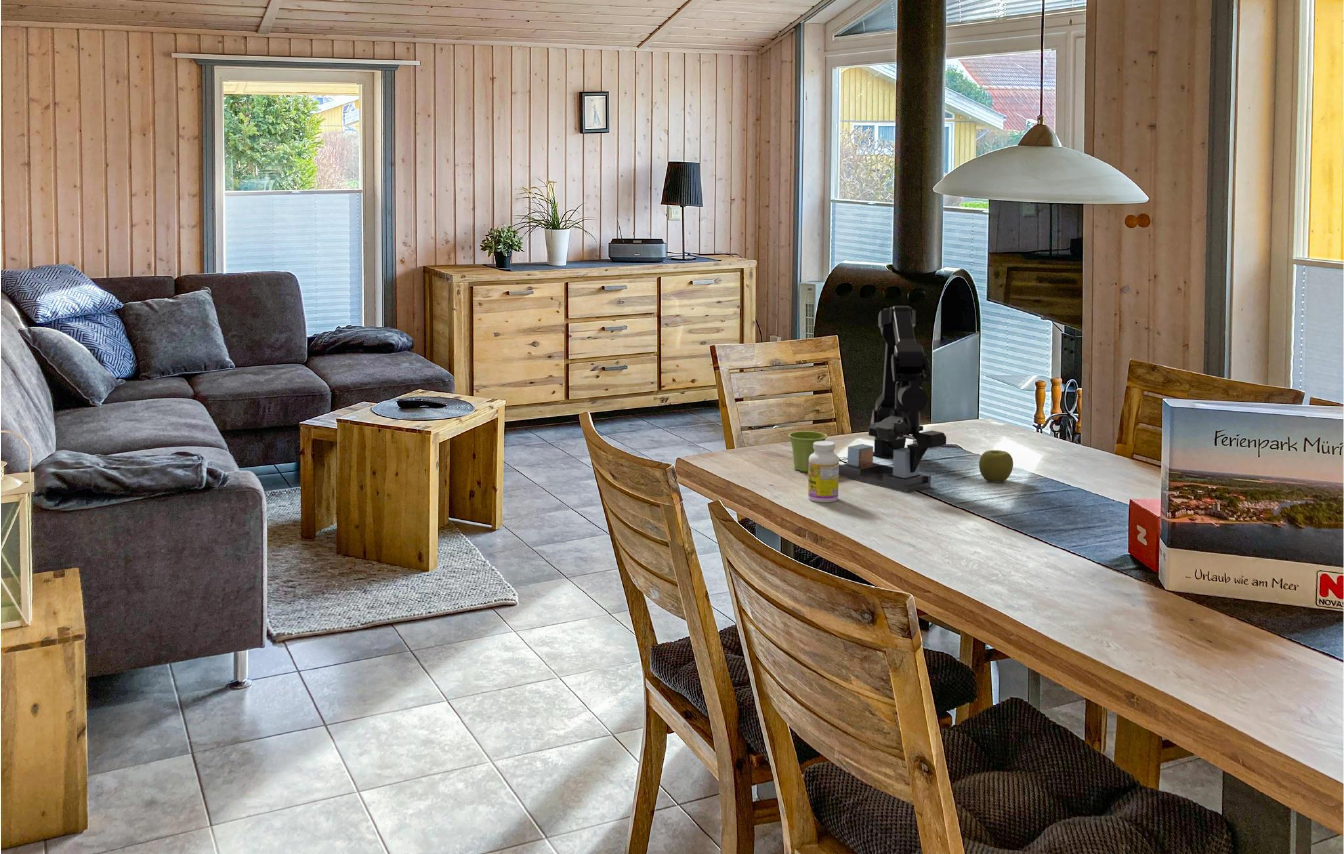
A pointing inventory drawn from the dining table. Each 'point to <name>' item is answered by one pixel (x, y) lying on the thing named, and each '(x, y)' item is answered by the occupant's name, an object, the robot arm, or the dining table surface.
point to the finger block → (903, 463)
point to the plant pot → (804, 447)
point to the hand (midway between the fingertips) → (905, 470)
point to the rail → (878, 471)
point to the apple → (995, 465)
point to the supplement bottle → (823, 473)
